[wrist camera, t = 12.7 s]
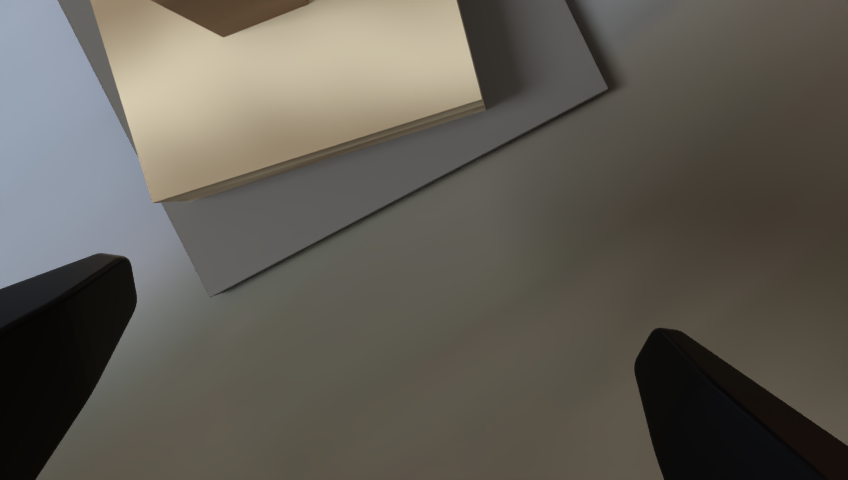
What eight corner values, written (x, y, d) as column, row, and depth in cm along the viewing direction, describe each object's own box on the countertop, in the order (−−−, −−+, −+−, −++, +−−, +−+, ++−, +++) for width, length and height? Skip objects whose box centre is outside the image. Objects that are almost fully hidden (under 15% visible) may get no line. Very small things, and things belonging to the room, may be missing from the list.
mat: (604, 92, 15) (608, 88, 14) (219, 293, 18) (209, 297, 18) (382, -363, 15) (377, -385, 14) (33, -71, 18) (17, -79, 18)
